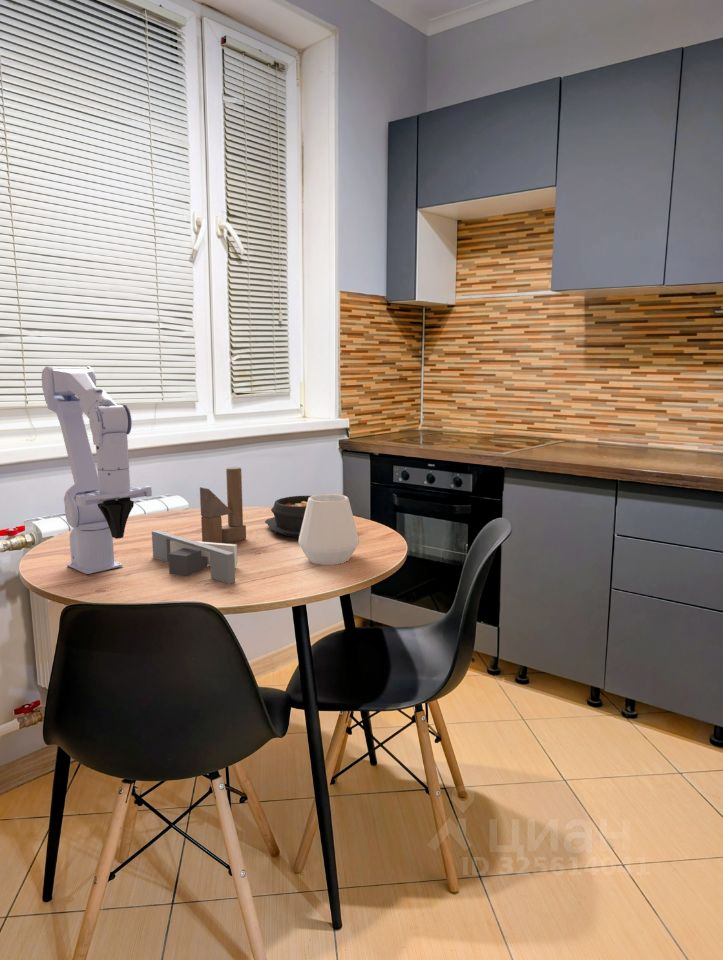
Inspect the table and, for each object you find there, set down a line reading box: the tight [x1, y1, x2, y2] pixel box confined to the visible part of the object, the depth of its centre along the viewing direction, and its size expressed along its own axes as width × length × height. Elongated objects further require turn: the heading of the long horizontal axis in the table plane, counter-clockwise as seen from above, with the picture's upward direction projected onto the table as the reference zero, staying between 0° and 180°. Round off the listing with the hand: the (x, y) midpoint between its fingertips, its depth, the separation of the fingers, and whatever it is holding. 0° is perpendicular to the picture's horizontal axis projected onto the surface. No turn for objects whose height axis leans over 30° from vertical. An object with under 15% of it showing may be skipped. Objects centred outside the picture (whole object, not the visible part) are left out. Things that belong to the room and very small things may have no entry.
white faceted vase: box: [297, 493, 360, 566], centre depth 148 cm, size 13×13×14 cm
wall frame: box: [151, 529, 236, 585], centre depth 142 cm, size 28×2×6 cm, turn 48°
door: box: [170, 540, 238, 568], centre depth 144 cm, size 15×1×5 cm, turn 73°
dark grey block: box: [168, 548, 209, 578], centre depth 141 cm, size 4×7×4 cm, turn 157°
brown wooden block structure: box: [199, 466, 247, 544], centre depth 162 cm, size 4×11×18 cm, turn 138°
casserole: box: [264, 495, 312, 538], centre depth 173 cm, size 25×19×8 cm
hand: (117, 537), depth 131 cm, fingers closed
